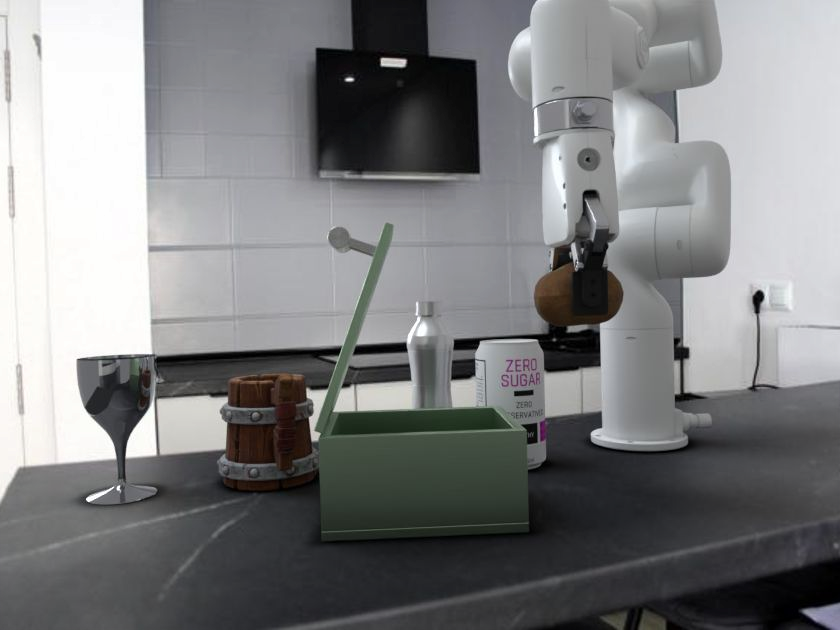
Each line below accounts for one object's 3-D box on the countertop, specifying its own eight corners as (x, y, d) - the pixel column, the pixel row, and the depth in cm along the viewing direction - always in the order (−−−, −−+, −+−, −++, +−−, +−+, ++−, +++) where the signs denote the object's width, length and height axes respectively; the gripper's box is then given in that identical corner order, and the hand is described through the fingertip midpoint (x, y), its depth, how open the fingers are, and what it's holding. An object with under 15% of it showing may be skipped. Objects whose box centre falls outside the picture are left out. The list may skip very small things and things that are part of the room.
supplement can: (506, 453, 91) (503, 338, 91) (559, 462, 85) (556, 339, 85) (464, 465, 86) (461, 342, 85) (518, 475, 80) (515, 343, 79)
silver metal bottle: (458, 445, 97) (454, 300, 97) (456, 456, 90) (452, 301, 90) (412, 445, 98) (408, 302, 97) (406, 456, 91) (402, 302, 90)
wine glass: (83, 510, 71) (77, 362, 70) (80, 492, 78) (75, 357, 78) (166, 497, 74) (160, 357, 74) (156, 481, 82) (151, 352, 81)
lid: (392, 238, 73) (342, 221, 73) (394, 224, 59) (333, 203, 59) (334, 408, 73) (284, 392, 73) (322, 434, 59) (261, 413, 59)
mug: (304, 458, 90) (306, 344, 87) (340, 505, 77) (344, 374, 75) (210, 470, 85) (209, 350, 82) (233, 522, 72) (232, 382, 70)
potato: (516, 328, 68) (514, 263, 67) (587, 322, 73) (585, 262, 73) (567, 330, 62) (565, 259, 62) (639, 323, 68) (637, 258, 67)
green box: (502, 489, 74) (500, 405, 74) (529, 532, 60) (526, 429, 60) (333, 496, 73) (330, 411, 73) (321, 542, 60) (318, 437, 59)
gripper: (646, 102, 58) (651, 315, 59) (584, 146, 76) (588, 310, 76) (557, 104, 58) (563, 318, 59) (515, 147, 75) (520, 312, 76)
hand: (577, 312), depth 67 cm, fingers closed on potato, 7 cm apart
